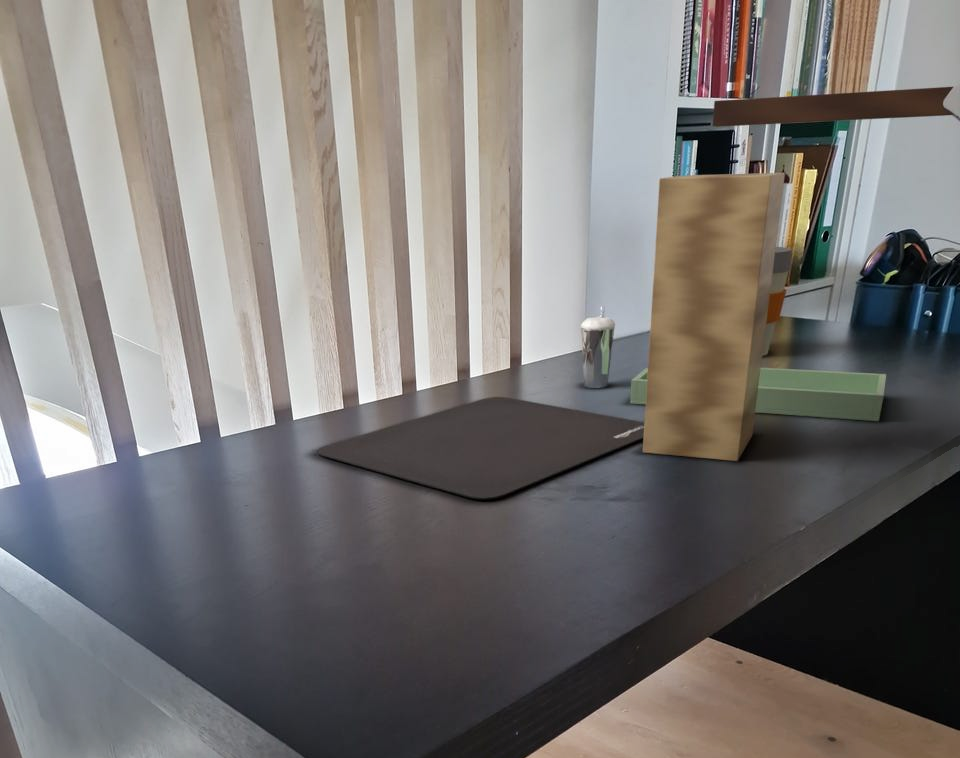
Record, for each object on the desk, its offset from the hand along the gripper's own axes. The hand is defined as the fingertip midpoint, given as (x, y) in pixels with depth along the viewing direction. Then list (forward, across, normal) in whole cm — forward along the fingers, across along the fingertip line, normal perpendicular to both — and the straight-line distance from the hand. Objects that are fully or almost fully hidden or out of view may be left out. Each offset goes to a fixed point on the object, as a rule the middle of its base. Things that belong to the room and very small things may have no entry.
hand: (947, 94), depth 72 cm
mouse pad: (+19, +6, +47) cm, 51 cm away
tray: (-3, -21, +35) cm, 41 cm away
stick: (+6, 0, +5) cm, 7 cm away
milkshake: (+16, -24, +46) cm, 54 cm away
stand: (0, 0, +36) cm, 36 cm away
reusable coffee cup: (+3, -52, +38) cm, 65 cm away
